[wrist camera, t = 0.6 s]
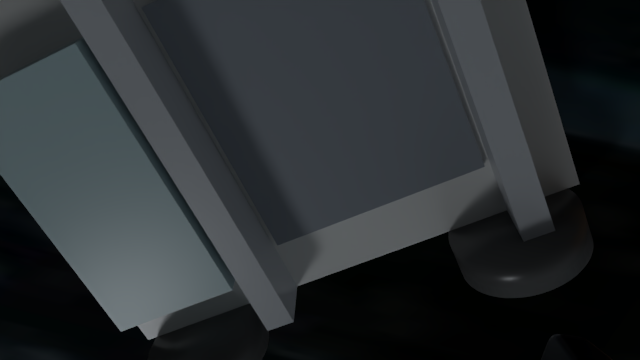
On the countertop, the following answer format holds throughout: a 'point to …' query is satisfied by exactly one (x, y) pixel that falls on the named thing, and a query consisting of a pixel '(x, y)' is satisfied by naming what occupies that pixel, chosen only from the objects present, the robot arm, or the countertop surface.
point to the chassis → (281, 152)
